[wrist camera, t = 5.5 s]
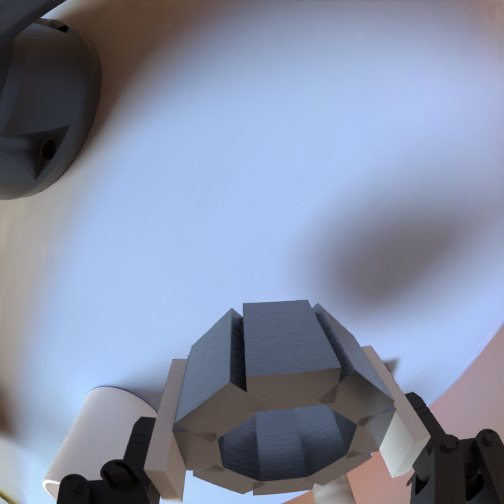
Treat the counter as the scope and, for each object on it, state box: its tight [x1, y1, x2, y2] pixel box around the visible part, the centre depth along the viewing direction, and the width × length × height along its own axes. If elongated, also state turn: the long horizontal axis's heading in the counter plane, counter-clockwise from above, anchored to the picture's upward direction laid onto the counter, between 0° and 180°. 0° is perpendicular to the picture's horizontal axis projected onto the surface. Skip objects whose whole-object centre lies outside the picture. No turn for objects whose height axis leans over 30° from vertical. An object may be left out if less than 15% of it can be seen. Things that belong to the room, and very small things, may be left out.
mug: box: [43, 387, 157, 500], centre depth 18 cm, size 12×8×12 cm
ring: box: [172, 300, 396, 495], centre depth 12 cm, size 8×8×5 cm
